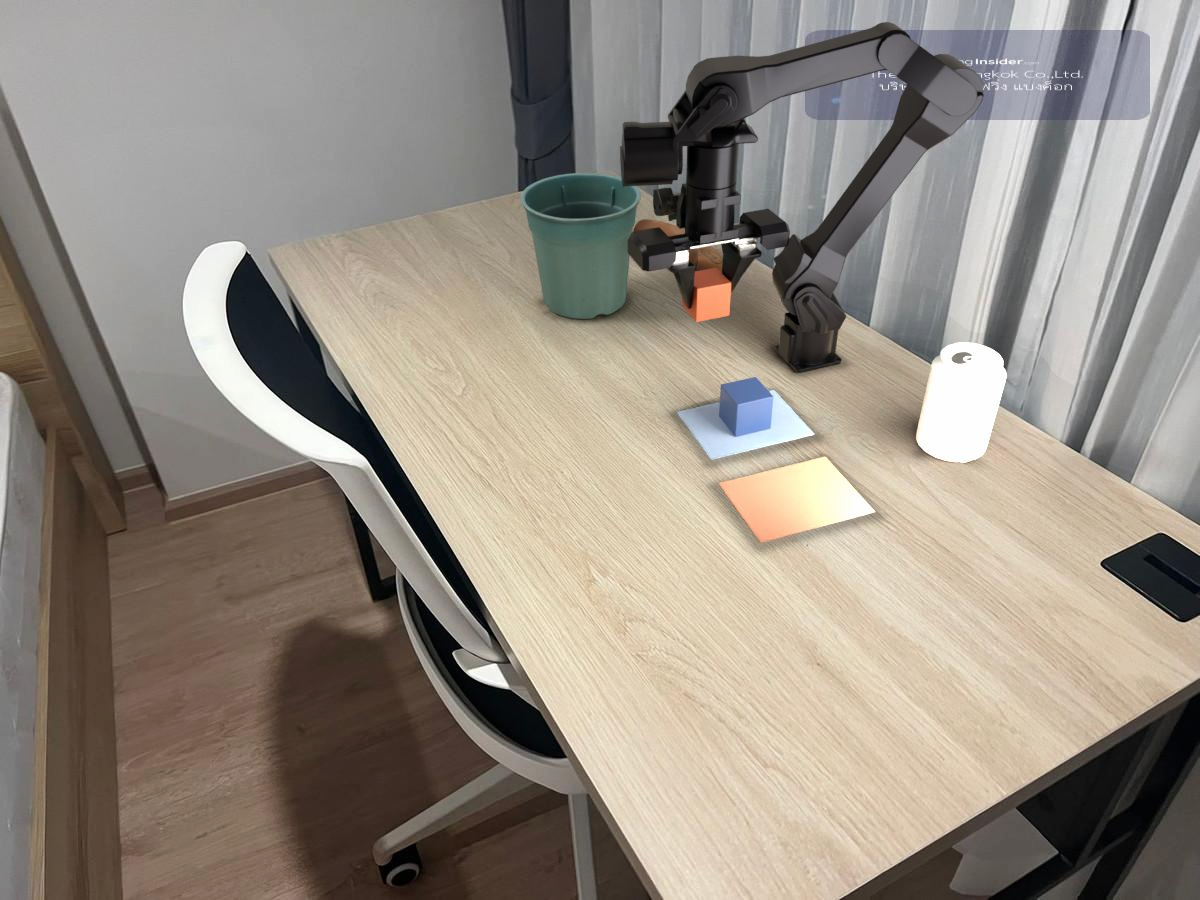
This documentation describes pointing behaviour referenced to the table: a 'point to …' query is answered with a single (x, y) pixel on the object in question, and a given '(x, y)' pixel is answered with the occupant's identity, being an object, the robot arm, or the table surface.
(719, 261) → the sunglasses case
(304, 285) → the table surface
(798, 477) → the terracotta mat
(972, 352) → the can
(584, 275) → the flower pot
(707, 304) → the terracotta block
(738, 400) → the blue block
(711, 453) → the blue mat
